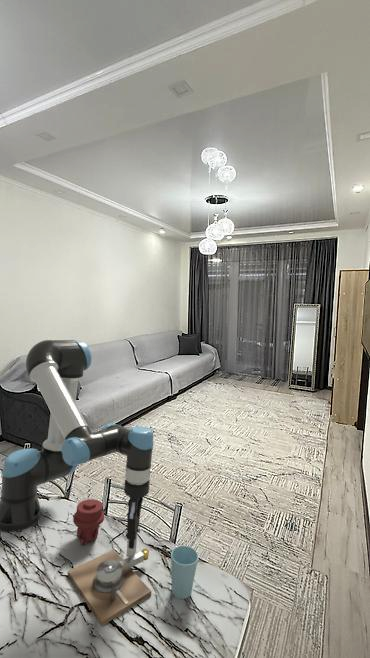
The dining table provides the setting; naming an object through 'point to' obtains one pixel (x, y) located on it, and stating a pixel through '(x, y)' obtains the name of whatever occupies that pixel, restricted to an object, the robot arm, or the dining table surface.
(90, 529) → the mechanical component
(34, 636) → the dining table surface
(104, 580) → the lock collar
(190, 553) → the cup
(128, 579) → the post board
